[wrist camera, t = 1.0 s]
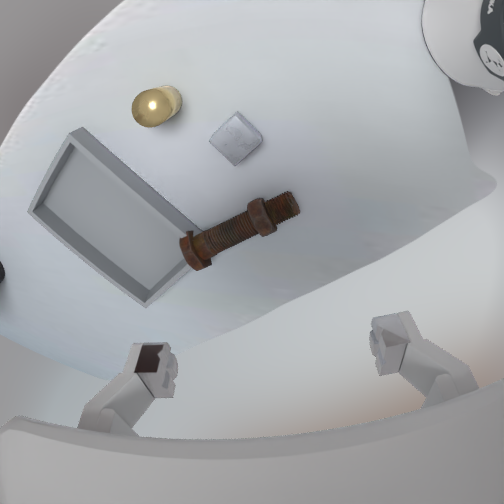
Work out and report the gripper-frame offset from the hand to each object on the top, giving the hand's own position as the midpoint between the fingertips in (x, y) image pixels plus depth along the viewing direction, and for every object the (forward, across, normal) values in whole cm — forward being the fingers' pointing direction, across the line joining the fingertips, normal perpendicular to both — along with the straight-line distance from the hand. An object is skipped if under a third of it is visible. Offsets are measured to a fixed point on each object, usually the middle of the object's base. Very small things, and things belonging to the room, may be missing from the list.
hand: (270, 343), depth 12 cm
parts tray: (+30, +21, +6) cm, 37 cm away
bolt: (+29, +3, +9) cm, 31 cm away
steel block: (+29, +2, -2) cm, 30 cm away
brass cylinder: (+29, +10, -8) cm, 32 cm away
